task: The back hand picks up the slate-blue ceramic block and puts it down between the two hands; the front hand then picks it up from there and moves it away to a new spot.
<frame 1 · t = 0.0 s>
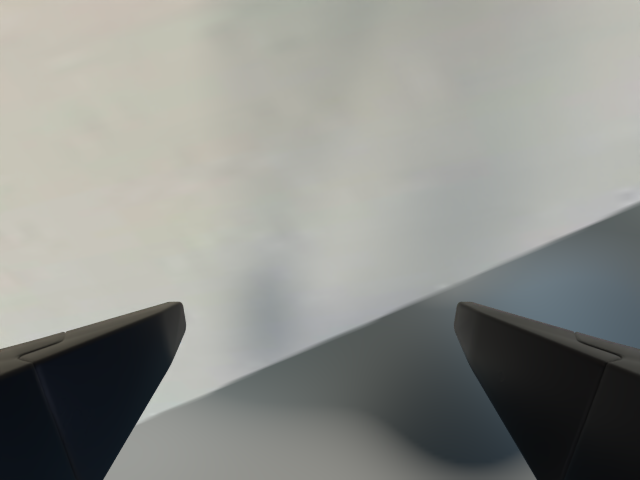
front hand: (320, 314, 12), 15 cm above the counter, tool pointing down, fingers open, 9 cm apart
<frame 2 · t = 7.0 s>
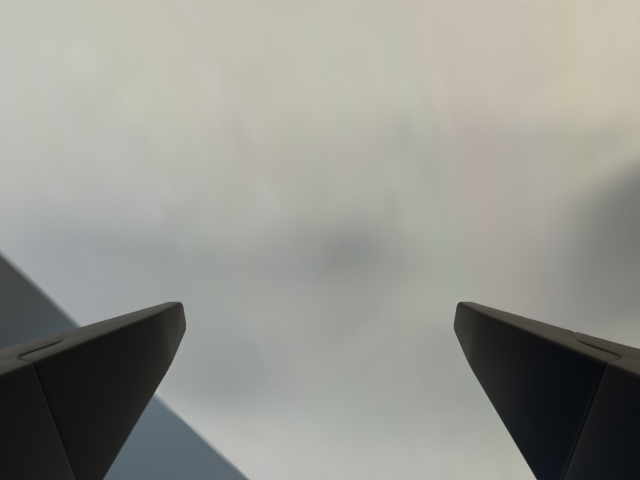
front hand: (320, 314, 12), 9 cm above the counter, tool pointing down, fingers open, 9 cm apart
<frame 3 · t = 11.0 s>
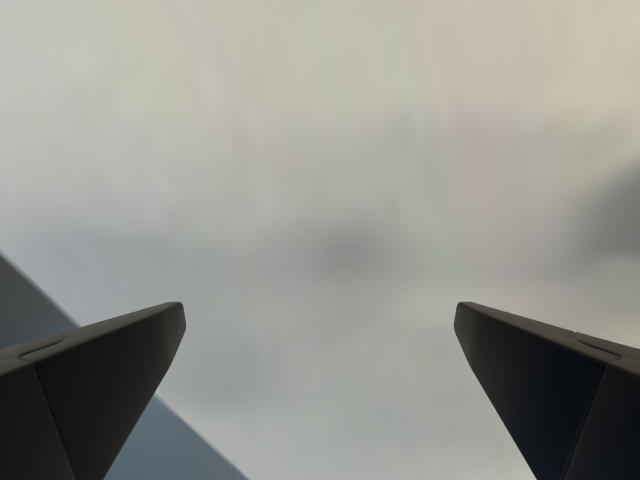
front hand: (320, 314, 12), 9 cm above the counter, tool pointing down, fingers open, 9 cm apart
when the back hand's fingers open (1 cm above the counter, at t = 14.9 s): block stays where it is, on the counter.
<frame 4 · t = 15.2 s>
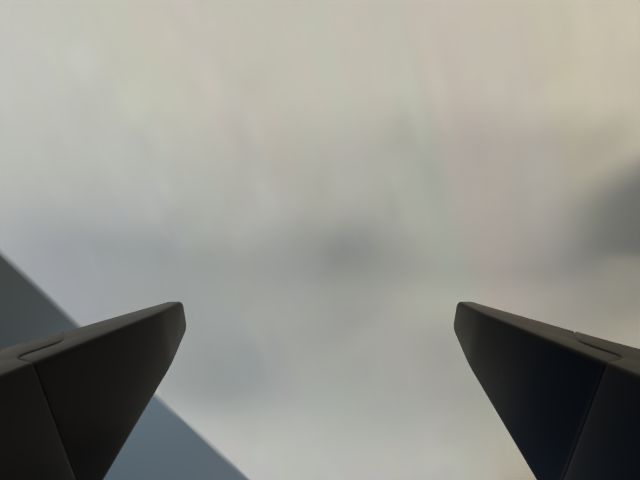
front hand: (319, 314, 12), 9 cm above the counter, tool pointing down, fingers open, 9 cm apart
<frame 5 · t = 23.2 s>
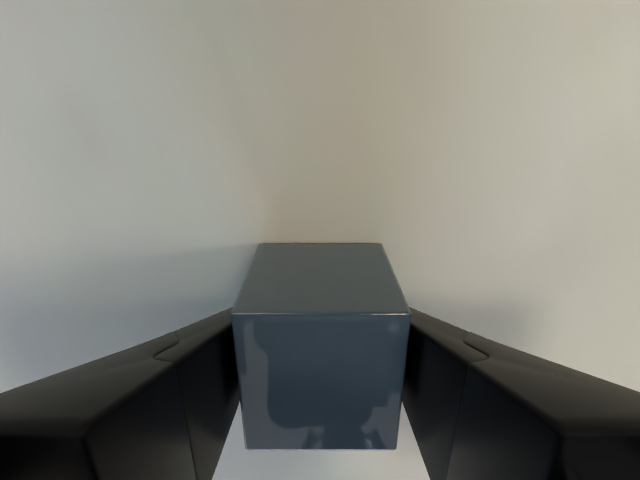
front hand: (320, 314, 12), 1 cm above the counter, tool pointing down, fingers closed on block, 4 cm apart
block: (320, 299, 13), on the counter, touching front hand
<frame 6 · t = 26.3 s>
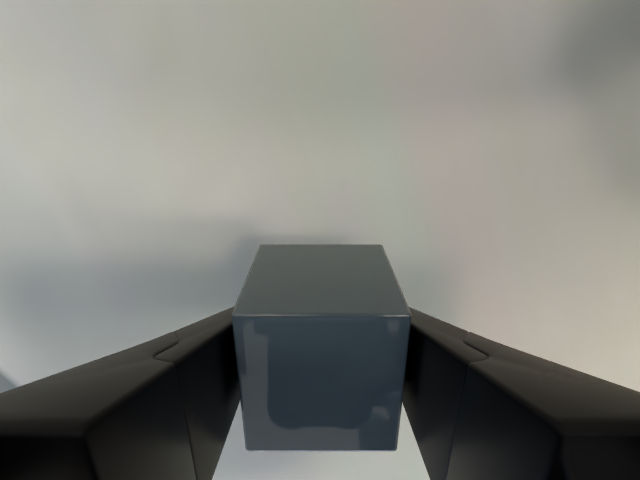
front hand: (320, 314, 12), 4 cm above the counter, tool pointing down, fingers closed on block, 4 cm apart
block: (320, 300, 13), point 3 cm above the counter, touching front hand
when the front hand's fingers open (2 cm above the counter, at t = 29.5 s): block drops 1 cm, on the counter.
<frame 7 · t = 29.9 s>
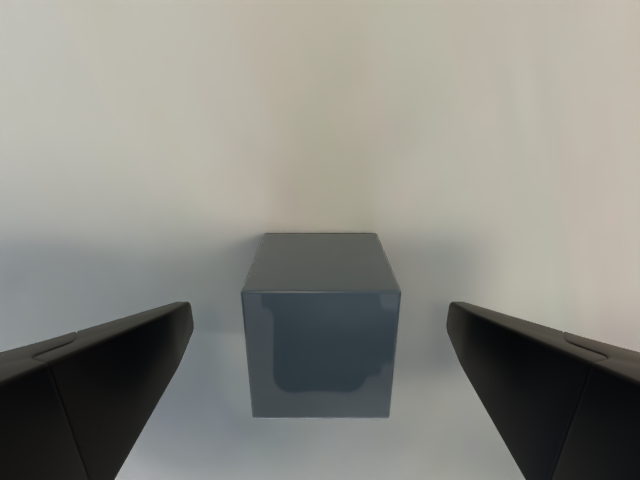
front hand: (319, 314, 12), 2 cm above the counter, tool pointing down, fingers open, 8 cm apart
block: (320, 286, 14), on the counter
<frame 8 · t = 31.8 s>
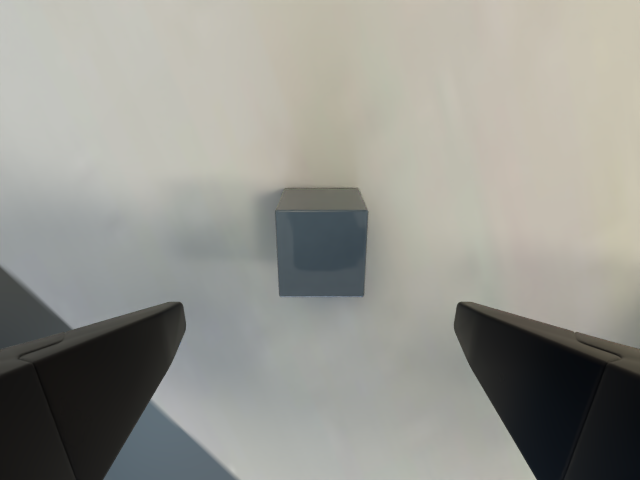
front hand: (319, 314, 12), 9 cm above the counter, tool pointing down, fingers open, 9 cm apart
block: (321, 225, 20), on the counter
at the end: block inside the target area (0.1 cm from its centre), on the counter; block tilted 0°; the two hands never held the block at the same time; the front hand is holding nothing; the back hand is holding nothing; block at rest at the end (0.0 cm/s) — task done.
